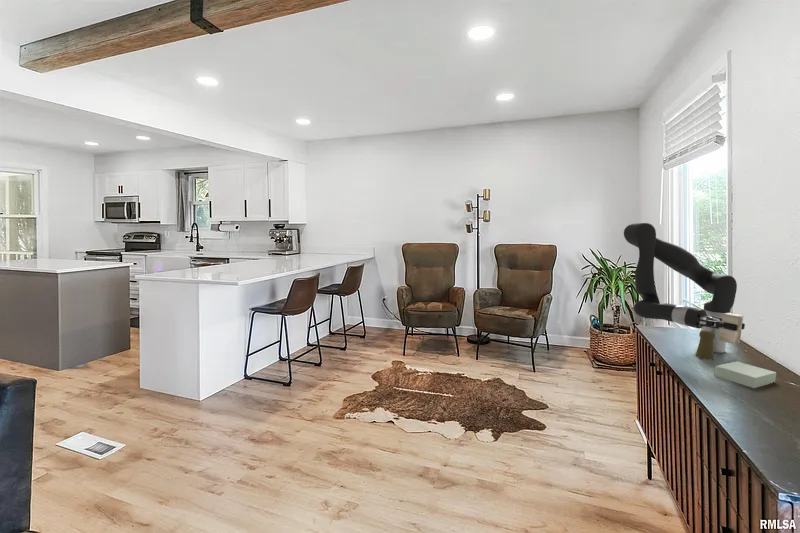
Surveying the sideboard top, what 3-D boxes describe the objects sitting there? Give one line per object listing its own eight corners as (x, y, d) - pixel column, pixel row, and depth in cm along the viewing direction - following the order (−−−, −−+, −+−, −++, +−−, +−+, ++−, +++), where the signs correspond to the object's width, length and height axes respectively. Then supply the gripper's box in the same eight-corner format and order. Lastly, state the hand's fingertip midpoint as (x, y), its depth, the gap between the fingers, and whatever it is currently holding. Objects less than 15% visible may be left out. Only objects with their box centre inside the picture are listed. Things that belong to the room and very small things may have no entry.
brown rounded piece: (716, 360, 168) (720, 333, 167) (699, 358, 169) (703, 332, 168) (708, 355, 174) (712, 329, 173) (692, 354, 175) (695, 328, 174)
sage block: (735, 371, 157) (736, 361, 156) (774, 383, 146) (776, 372, 146) (714, 376, 151) (715, 365, 150) (753, 389, 140) (755, 377, 139)
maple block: (725, 339, 155) (728, 312, 154) (739, 342, 151) (743, 315, 150) (719, 340, 153) (722, 313, 151) (733, 344, 149) (737, 316, 148)
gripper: (679, 308, 160) (732, 318, 145) (699, 305, 166) (751, 315, 152) (677, 327, 160) (729, 339, 146) (697, 324, 167) (748, 335, 153)
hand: (740, 327), depth 149 cm, fingers closed on maple block, 4 cm apart
